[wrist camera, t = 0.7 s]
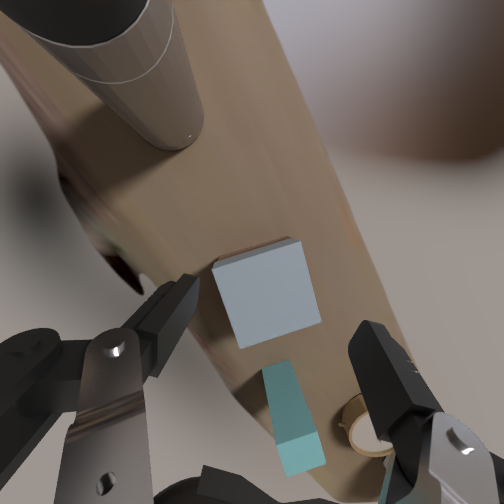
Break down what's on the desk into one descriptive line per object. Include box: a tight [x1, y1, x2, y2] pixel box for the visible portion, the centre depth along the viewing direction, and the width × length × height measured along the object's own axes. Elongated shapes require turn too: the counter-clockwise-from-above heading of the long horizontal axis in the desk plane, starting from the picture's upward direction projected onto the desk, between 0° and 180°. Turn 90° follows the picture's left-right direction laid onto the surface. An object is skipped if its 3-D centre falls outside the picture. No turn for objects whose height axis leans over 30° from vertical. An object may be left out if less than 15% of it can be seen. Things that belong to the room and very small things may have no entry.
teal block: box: [262, 360, 326, 477], centre depth 30 cm, size 5×5×12 cm
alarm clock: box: [338, 394, 394, 457], centre depth 37 cm, size 11×5×15 cm
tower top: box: [212, 238, 321, 349], centre depth 27 cm, size 11×11×4 cm
